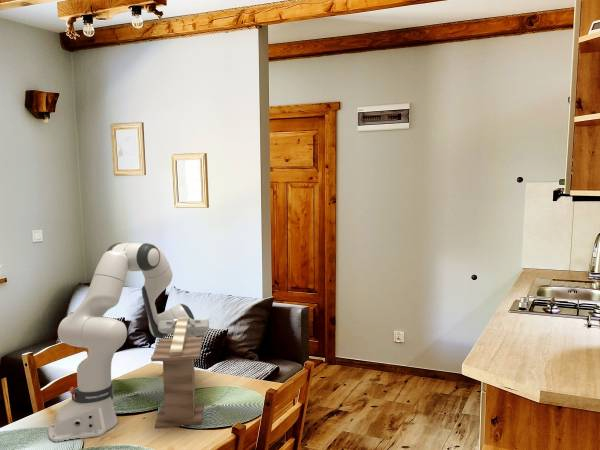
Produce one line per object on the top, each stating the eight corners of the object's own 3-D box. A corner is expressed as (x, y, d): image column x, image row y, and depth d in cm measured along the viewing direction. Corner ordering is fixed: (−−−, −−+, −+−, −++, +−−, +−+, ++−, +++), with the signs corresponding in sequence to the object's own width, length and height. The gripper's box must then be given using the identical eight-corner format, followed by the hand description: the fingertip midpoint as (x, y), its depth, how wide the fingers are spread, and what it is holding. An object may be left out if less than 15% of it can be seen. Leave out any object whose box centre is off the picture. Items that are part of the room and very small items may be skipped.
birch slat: (178, 321, 205) (177, 317, 204) (188, 320, 205) (188, 317, 205) (169, 356, 176) (169, 352, 175) (181, 355, 176) (181, 351, 176)
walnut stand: (162, 405, 198) (159, 339, 196) (204, 402, 200) (202, 337, 198) (153, 432, 176) (151, 358, 174) (201, 429, 178) (199, 355, 176)
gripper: (160, 323, 214) (155, 314, 201) (209, 320, 216) (208, 311, 204) (159, 338, 211) (154, 330, 199) (210, 335, 214) (208, 327, 201)
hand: (182, 320), depth 201 cm, fingers closed on birch slat, 4 cm apart
